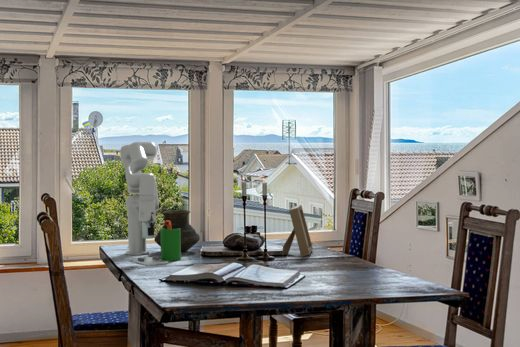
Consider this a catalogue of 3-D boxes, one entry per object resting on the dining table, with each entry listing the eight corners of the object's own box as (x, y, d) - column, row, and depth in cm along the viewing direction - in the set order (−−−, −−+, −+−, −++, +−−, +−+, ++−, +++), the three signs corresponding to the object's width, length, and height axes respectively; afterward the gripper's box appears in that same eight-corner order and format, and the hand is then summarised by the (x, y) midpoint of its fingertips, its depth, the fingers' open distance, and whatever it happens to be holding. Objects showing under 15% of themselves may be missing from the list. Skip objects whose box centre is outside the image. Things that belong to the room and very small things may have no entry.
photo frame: (312, 250, 370) (311, 204, 370) (309, 256, 349) (308, 207, 348) (285, 250, 373) (284, 205, 372) (280, 256, 351) (279, 208, 350)
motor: (182, 258, 350) (181, 219, 349) (178, 260, 341) (177, 221, 340) (162, 258, 351) (162, 219, 350) (158, 260, 342) (157, 221, 341)
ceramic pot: (150, 251, 379) (149, 210, 379) (192, 248, 388) (191, 208, 388) (160, 256, 357) (159, 213, 356) (204, 253, 366) (204, 211, 365)
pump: (140, 237, 338) (140, 218, 338) (150, 237, 342) (149, 218, 342) (145, 238, 334) (145, 219, 334) (155, 237, 337) (155, 218, 337)
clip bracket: (129, 260, 343) (129, 256, 343) (149, 258, 350) (148, 254, 350) (147, 265, 327) (147, 261, 327) (168, 263, 334) (168, 258, 334)
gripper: (132, 198, 342) (133, 234, 343) (148, 199, 328) (149, 237, 329) (146, 197, 347) (146, 233, 347) (162, 198, 333) (163, 235, 333)
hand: (148, 234), depth 338 cm, fingers closed on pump, 5 cm apart
